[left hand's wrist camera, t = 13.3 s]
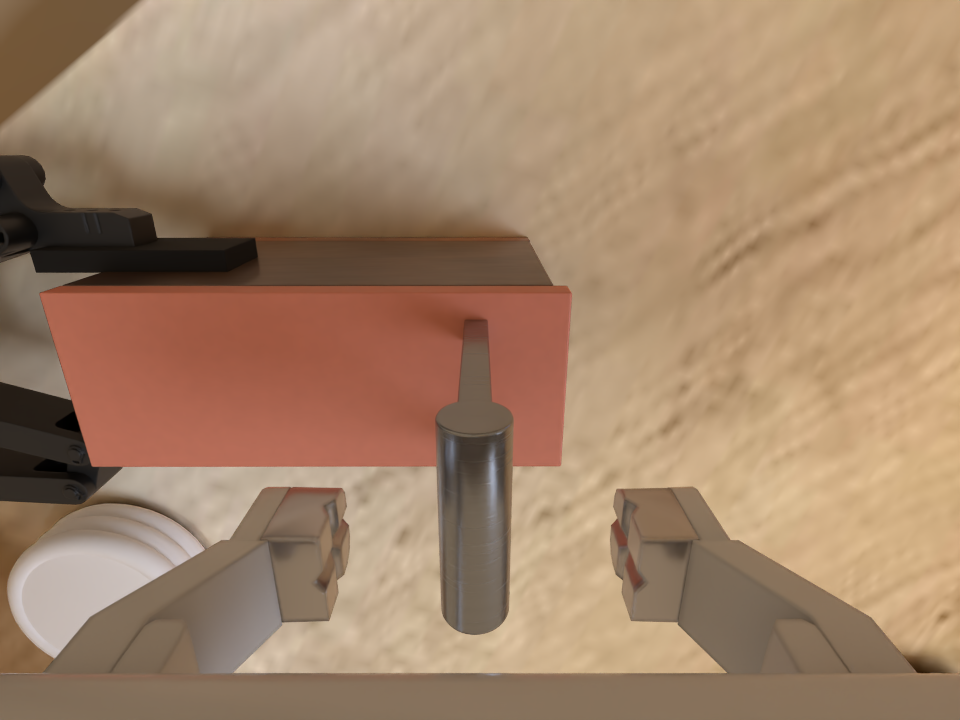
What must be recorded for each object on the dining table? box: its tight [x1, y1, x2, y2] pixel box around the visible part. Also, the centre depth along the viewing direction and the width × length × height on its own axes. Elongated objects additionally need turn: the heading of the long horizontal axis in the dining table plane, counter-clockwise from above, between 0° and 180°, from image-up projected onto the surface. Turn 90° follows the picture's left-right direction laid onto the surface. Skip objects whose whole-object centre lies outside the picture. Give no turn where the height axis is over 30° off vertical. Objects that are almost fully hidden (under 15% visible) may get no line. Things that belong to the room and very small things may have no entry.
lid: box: [39, 286, 572, 635], centre depth 14 cm, size 16×6×8 cm, turn 90°
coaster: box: [7, 503, 205, 659], centre depth 31 cm, size 10×10×4 cm
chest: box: [63, 237, 553, 286], centre depth 22 cm, size 15×6×10 cm, turn 90°
